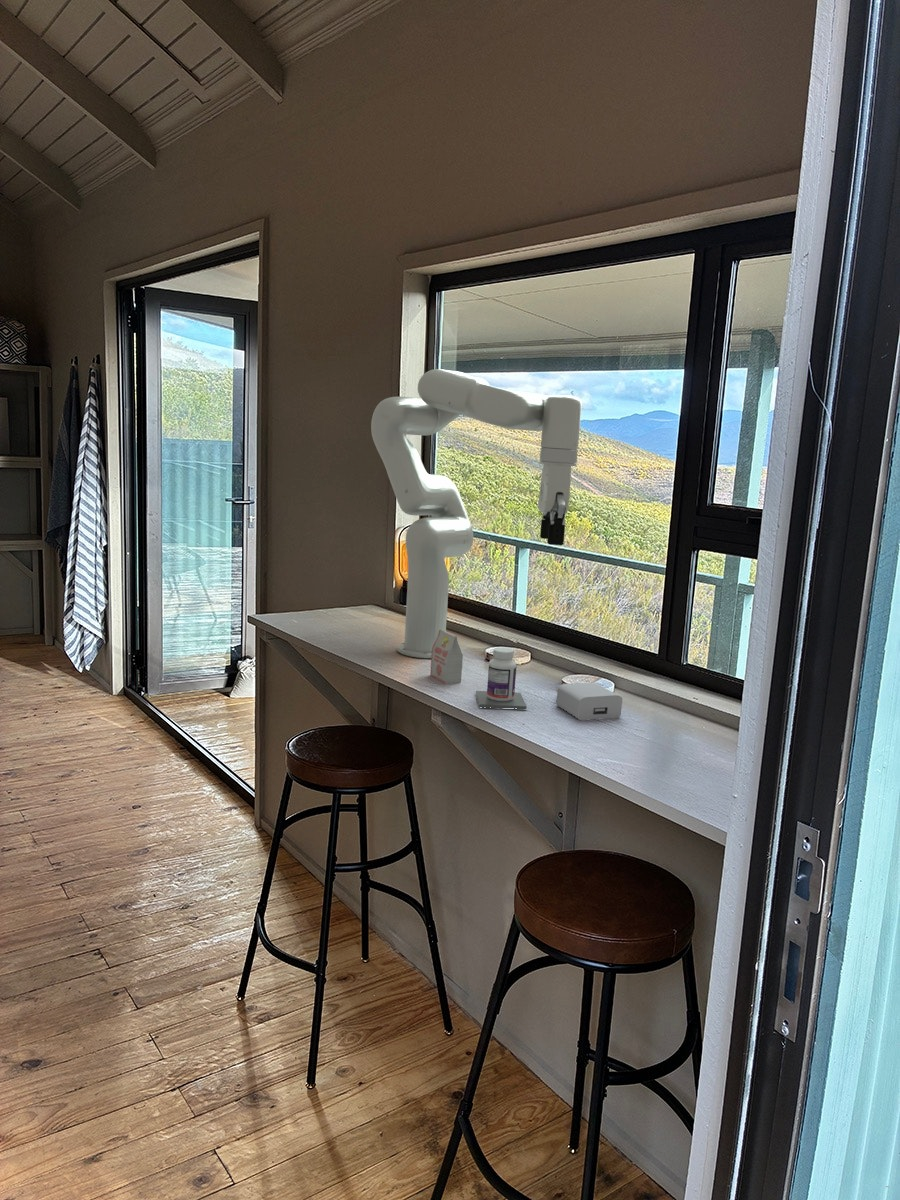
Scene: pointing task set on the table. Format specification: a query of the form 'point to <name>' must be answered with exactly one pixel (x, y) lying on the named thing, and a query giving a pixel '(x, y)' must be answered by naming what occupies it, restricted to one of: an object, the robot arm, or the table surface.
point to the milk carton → (446, 659)
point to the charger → (588, 701)
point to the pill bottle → (501, 675)
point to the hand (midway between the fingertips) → (551, 541)
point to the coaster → (486, 702)
